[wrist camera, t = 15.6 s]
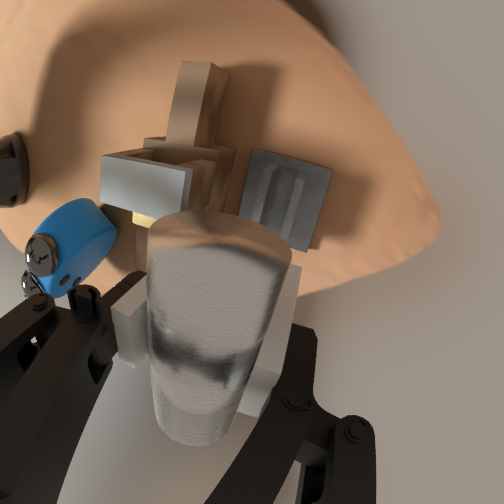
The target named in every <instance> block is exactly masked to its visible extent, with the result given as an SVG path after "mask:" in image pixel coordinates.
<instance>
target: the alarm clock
mask: <svg viewBox="0 0 504 504" xmlns="http://www.w3.org/2000/svg"><path fill="white" fill-rule="evenodd" d="M102 207H103V206H102V205H101V206H100V207H98V206H97V205H96V204H95V203H94V202H93V201H92V200H91V199H87V198H80V199H76V200H73V201H71V202H68V203H66V204H65V205H63V206H61V207H60V208H58V209H57V210H55V211H54V212H53V213H52V214H51V215H49V216H48V217H47V218H46V219H45V220H44V221H43V222H42V223H41V225H40V226H39V227H38V228H37V230H36V231H35V232H34V234H33V236H32V237H31V238H30V239H29V240H28V242H27V244H26V247H25V253H24V256H25V264H26V266H27V268H28V269H29V271H30V272H28V271H27V270H24V272H23V273H22V276H21V286H22V289H23V291H24V293H25V295H24V296H25V297H28V298H29V297H30V296H32V295H34V294H37V293H44V292H45V293H48V294H50V295H51V296H52V297H53V298H54V299H55V298H59V297H62V296H64V295H65V294H67V291H68V290H69V289H70V288H72V287H74V286H77V285H79V284H80V283H81V282H82V281H83V280H84V279H85V278H87V277H88V276H89V275H90V274H91V273H92V272H93V270H94V269H95V268H96V267H97V266H98V265H99V264H100V263H101V261H102V260H103V259H104V258H105V256H106V255H107V254H108V252H109V251H110V250H111V248H112V246H113V245H114V243H115V241H116V238H117V229H116V227H115V226H114V225H113V224H112V223H111V222H110V221H109V219H108V218H107V217H106V216H105V215H104V214H103V212H102V211H101V210H100V209H101V208H102ZM31 275H33V277H34V278H35V279H36V280H37V283H36V281H35V280H34V279H33V277H32V276H31ZM38 284H39V285H40V286H41V288H42V289H43V290H44V292H43V291H42V289H41V288H40V287H39V285H38Z"/></svg>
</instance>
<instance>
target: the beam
mask: <svg viewBox="0 0 504 504" xmlns="http://www.w3.org/2000/svg"><path fill="white" fill-rule="evenodd" d="M228 77H229V73H228V72H226V71H225V70H223V69H221V68H220V67H218V66H216V65H215V64H213V63H211V62H192V61H182V62H181V66H180V70H179V74H178V79H177V83H176V87H175V92H174V97H173V102H172V107H171V112H170V117H169V123H168V128H167V134H166V137H153V138H144V144H143V148H141V149H134V150H128V151H123V152H117V153H112V154H107V155H102V159H101V175H100V202H103V203H106V204H109V205H112V206H116V207H119V208H122V209H126V210H129V211H132V212H135V213H139V214H142V215H145V216H149V217H152V218H155V219H160V218H161V217H163V216H166V215H169V214H172V213H177V212H183V211H215V212H222V213H223V209H224V204H225V199H226V194H227V189H228V184H229V179H230V174H231V169H232V164H233V159H234V155H235V150H236V149H235V148H231V147H226V146H221V145H216V144H214V140H215V135H216V130H217V125H218V121H219V116H220V111H221V107H222V102H223V98H224V94H225V89H226V85H227V81H228ZM160 162H163V163H160ZM165 163H168V164H165ZM170 164H173V165H170ZM175 165H176V166H175ZM148 231H149V228H147V227H144V226H140V225H136V271H138V270H141V271H143V272H145V273H147V242H148Z"/></svg>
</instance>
